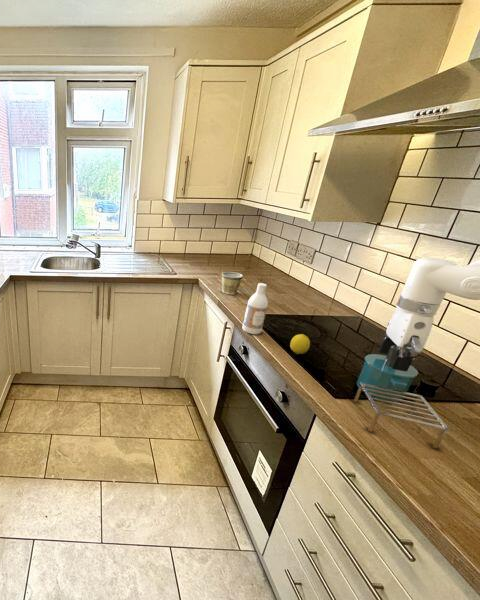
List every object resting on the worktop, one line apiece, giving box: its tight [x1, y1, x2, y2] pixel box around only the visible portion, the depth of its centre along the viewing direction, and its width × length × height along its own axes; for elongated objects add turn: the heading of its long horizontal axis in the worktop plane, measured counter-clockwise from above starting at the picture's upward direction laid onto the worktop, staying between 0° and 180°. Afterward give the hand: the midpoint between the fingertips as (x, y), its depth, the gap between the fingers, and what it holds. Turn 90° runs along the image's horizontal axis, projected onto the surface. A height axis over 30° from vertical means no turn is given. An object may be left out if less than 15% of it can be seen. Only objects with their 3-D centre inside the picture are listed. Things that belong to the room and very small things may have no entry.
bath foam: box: [241, 282, 269, 335], centre depth 124 cm, size 7×7×20 cm
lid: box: [364, 345, 419, 379], centre depth 89 cm, size 11×11×7 cm
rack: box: [352, 383, 451, 449], centre depth 80 cm, size 13×13×6 cm
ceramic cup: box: [221, 271, 248, 296], centre depth 165 cm, size 13×10×10 cm
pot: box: [356, 361, 415, 403], centre depth 92 cm, size 10×16×8 cm, turn 155°
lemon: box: [289, 333, 311, 355], centre depth 110 cm, size 6×6×8 cm
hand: (391, 361), depth 89 cm, fingers open, 8 cm apart
